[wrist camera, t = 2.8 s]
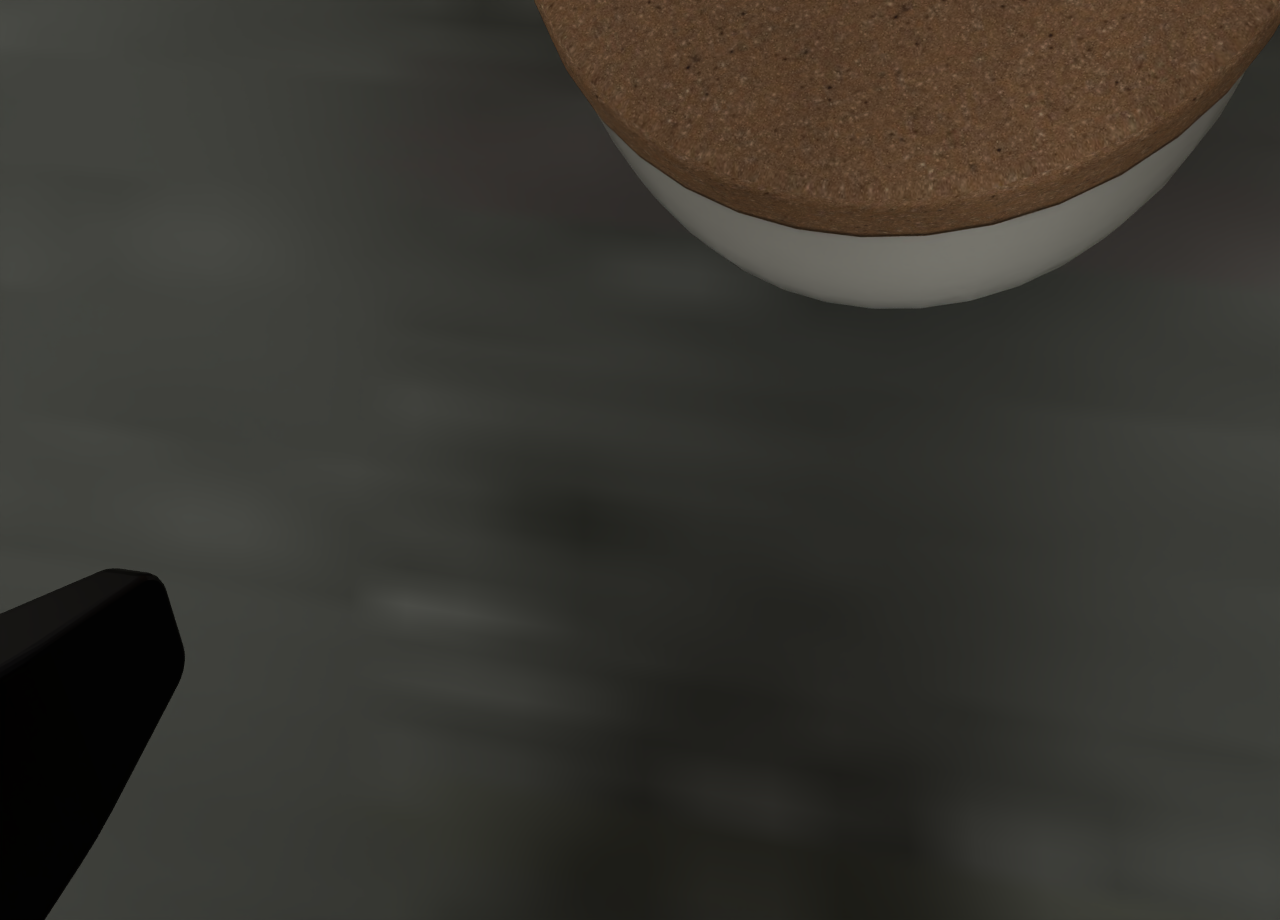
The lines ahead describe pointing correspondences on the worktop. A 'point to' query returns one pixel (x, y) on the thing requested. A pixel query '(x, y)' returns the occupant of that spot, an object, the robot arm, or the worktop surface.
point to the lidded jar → (906, 127)
